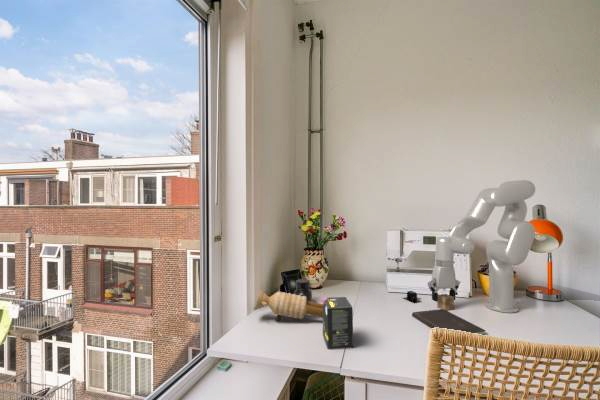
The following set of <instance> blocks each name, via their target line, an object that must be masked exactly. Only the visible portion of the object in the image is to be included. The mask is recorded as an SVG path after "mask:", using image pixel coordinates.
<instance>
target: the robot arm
mask: <svg viewBox="0 0 600 400" xmlns="http://www.w3.org/2000/svg"><path fill="white" fill-rule="evenodd" d="M535 193H536V186H535V184H534V182H532V181H530V180H529V179H528V180H526V179H520V180H509V181H505V182H502V183H501V184H500V185H499V187H490V188H484V189H482V190H480V192H479V193H478V195H477V196H476V198H475V200H474V202H473V203H472V205H471V207H470V209H469V210H468V212H467V214H466V215H465V216H464V217H463V218H462V219H460V220H459V221H458V222H457V223H456V224H455V225H454V227H453V228H452V230H451V231H450V233H449V235H448V236H438V237H437V238H436V239H435V265H434V266H433V268H432V274H431V280H429V281H428V282H427V287H428V289H429V290H430V292H431V301H432V300H433V301H434V302H436V303H437V301H438V295H439V293H438V292H439V290H442V289H449V291H448V292H449V294H448V295H450V296H452V297H454V301H456V293H457V291H458V289H459V286H460V284H461V281H460V280H458V279H456V278H457V277H456V270H455V267H454V265H455V263H456V262H455V261H454V259H455V258H454V256H455V255H454V254H458V255H469V254H471V253H473V252H474V250H475V244H474V242H473V241H472V240H470V239H469V238H466V237H467V236H468V235H469V234H470V233H471V232H473V231H474V230H475V229H478V228H480V227H482V226H485V224H487V222H488V220H489V218H490V217H491V215H492V213H493V211H494V209H495V207H496V208H497V207H504V210H503V214H502V215H501V219H500V221H499V224H498V226H497V229H496V230H497V234H498V235H499V236H500V238H503V239H506V240H508V241H505V240H501V239H500V240H499V239H498V240H497V239H496V240H492V241H490V242H489V243H488V244H487V246H486V252H485V253H486V257H487V258H486V259H487V261H488V289H489V290H488V292H489V293H488V298H489V301H486V302H485V307H486V308H488V309H490V310H492V311H495V312H500V313H506V314H507V313H508V314H513V313H517V312H519V308H518V306H516V305H517V304H521V303H522V300H521V299H520V298H515V294H514V292H515V290H514V289H515V287H514V286H515V284H514V281H515V280H514V275H515V274H514V268H513V266H519V265H522V264H523V263H524V262H525V261H526V259H527V257H528V255H529V253H530V250H531V248H532V245H533V244H534V243H533V242H534V239H535V237H536V229H535V227H534V225H533V224H532V223H531V222H530V221H527V220H526V216H527V213H528V207H527V203H526V201H525V200H528V199H530V198H532V197H533V196H534V194H535Z"/></svg>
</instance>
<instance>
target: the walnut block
mask: <svg viewBox="0 0 600 400" xmlns="http://www.w3.org/2000/svg"><path fill="white" fill-rule="evenodd" d="M436 303H437V304H436V305H437V309H444V310H446V311H448V312H450V311H455V300H454V297H452V296H450V295H449V294H447V293H444V294H443V293H442V294H438V301H437V302H436Z"/></svg>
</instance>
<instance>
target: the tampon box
mask: <svg viewBox="0 0 600 400" xmlns="http://www.w3.org/2000/svg"><path fill="white" fill-rule="evenodd" d="M322 304H323V318H322V337H323V340H324V342H325V343H324V344H325V346H326V348H327V350H330V349H351V348H352V349H354V327H353V326H354V324H353V323H354V322H353V321H354V316H353V315H354V314H353V313H354V312H353V311H354V310H353V306H352V304H351V302H350V301H349V300H348V298H347V297H346V296H337V297H334V296H333V297H322Z"/></svg>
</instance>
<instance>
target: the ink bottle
mask: <svg viewBox="0 0 600 400" xmlns="http://www.w3.org/2000/svg"><path fill="white" fill-rule="evenodd" d="M310 283H311V281H310V280H309V279H306V278H299V279H296V280H295V288H296V289H295V290H294V291H293V294H295V295H301V296H306V297H307V301H310V302H313V293H312V290H311V289H310V288H311V284H310Z"/></svg>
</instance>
